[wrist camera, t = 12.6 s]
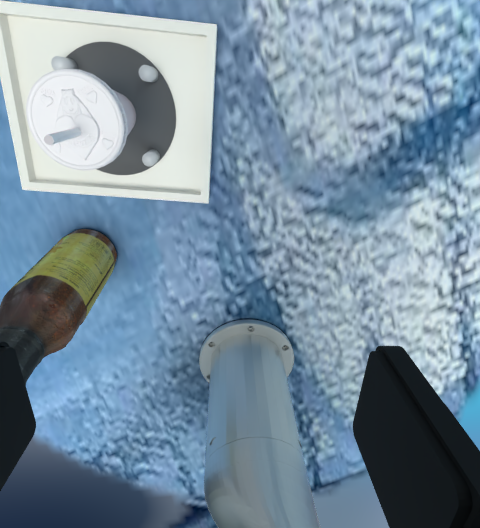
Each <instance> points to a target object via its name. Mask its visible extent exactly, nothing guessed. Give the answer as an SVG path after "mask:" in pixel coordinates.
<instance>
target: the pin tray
mask: <svg viewBox="0 0 480 528" xmlns="http://www.w3.org/2000/svg"><path fill="white" fill-rule="evenodd" d="M216 48H217V24H209V23H200V22H191V21H181V20H172V19H163V18H154V17H145V16H136V15H127V14H118V13H109V12H100V11H91V10H82V9H73V8H63V7H54V6H45V5H36V4H27V3H18V2H9V1H0V77H1V83H2V88H3V93H4V98H5V103H6V108H7V113H8V118H9V123H10V129H11V134H12V139H13V144H14V149H15V154H16V159H17V164H18V169H19V175H20V180H21V185H22V190H33V191H46V192H60V193H73V194H87V195H100V196H114V197H128V198H141V199H155V200H168V201H182V202H195V203H209V195H210V174H211V153H212V132H213V111H214V90H215V69H216ZM60 69H80V70H83V71H85V72H88V73H91V74H93V75H95V76H96V77H98V78H99V79H101V80H102V81H104V82H105V83H106V84H107V85H108V86H109V87H110V88H111V89H112V90H114V91H116V92H118V93H120V94H122V95H124V96H125V97H127V98H128V99H129V100H130V101H131V103H132V104H133V106H134V109H135V112H136V122H135V125H134V127H133V129H132V130H131V132H130V133H129V134H128V136H127V139H126V144H125V146H124V148H123V150H122V152H121V153H120V155H119V156H118V157H117V158H116V159H115V160H114V161H113V162H111V163H109V164H107V165H106V166H104V167H101V168H98V169H94V170H86V171H83V170H75V169H71V168H68V167H66V166H63V165H61V164H59V163H58V162H56V161H54V160H53V159H52V158H50V157H49V156H48V155H47V154H46V153H45V152H44V151H43V150H42V149H41V148H40V146H39V145H38V144H37V142H36V141H35V139H34V137H33V135H32V133H31V131H30V128H29V125H28V121H27V115H26V104H27V98H28V95H29V92H30V90H31V88H32V86H33V85H34V84H35V82H36V81H37V80H38V79H39V78H40V77H42V76H43V75H45V74H47V73H49V72H51V71H55V70H60Z"/></svg>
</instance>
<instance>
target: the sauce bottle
mask: <svg viewBox="0 0 480 528" xmlns="http://www.w3.org/2000/svg"><path fill="white" fill-rule="evenodd" d="M116 258H117V253H116V250H115V247H114V245H113V244H112V243H111V242H110V240H109V239H108V238H107V237H106V236H105V235H103V234H101V233H100V232H97V231H95V230H90V229H79V230H76V231H74V232H72V233H70V234H68V235H67V236H65V237H63V238H62V239H61V240H60V241H59V242H58V243H57V244H56V245H55V246H54V247H53V248H52V249H51V250H50V251H49V252H48V253H47V254H46V255H45V256H44V257H43V258H41V260H39V261H38V263H37V264H36V265H35V266H33V267H32V268H31V269H30V270H29V271H28V272H27V273H26V275H25V276H24V277H23V278H21V279H20V280H19V281H18V282H17V283H16V284H15V285H14V286H13V287H12V288H11V289H10V290H9V291H8V292H7V294H6V295H5V296H4V298H3V300H2V302H1V305H0V341H3V342H6V343H8V344H9V346H10V347H12V348H14V349H15V351H16V354H17V358H18V361H19V365H20V369H21V372H22V376H23V379H24V383H25V386H26V382H27V379H28V378H29V377H30V375H31V374H32V372H33V370H34V369H35V367H37V365H38V364H39V363H40V362H41V360H42V359H43V358H44V357H45V356H47V355H49V354H51V353H54V352H56V351H59V350H61V349H63V348H64V347H66V345H67V344H68V342H69V341H71V339H72V338H73V336H74V334H75V332H76V331H77V329H78V327H79V326H80V325H81V324H82V323H83V321H84V320H85V318H86V316H87V315H88V313H89V311H90V310H91V308H92V306H93V304H94V303H95V301H96V299H97V297H98V296H99V294H100V292H101V291H102V289H103V287H104V285H105V284H106V282H107V280H108V279H109V277H110V275H111V273H112V272H113V269H114V266H115V262H116Z"/></svg>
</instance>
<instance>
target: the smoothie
mask: <svg viewBox="0 0 480 528" xmlns="http://www.w3.org/2000/svg"><path fill="white" fill-rule="evenodd" d="M26 115H27V121H28V125H29V128H30V131H31V133H32V135H33V137H34V139H35V141H36V142H37V144H38V145H39V146H40V148H41V149H42V150H43V151H44V152H45V153H46V154H47V155H48V156H49V157H50V158H52V159H53V160H54V161H56V162H58V163H59V164H61V165H63V166H66V167H68V168H71V169H75V170H83V171H86V170H94V169H98V168H101V167H104V166H106V165H107V164H109V163H111V162H113V161H114V160H115V159H116V158H117V157H118V156H119V155H120V153H121V152H122V150H123V148H124V146H125V144H126V139H127V136H128V134H129V133H130V132H131V130H132V129H133V127H134V125H135V122H136V112H135V109H134V106H133V104H132V103H131V101H130V100H129V99H128V98H127V97H125V96H124V95H122V94H120V93H118V92H116V91H114V90H112V89H111V88H110V87H109V86H108V85H107V84H106V83H105V82H104V81H102V80H101V79H99V78H98V77H96V76H95V75H93V74H91V73H88V72H85V71H83V70H80V69H60V70H55V71H51V72H49V73H47V74H45V75H43V76H42V77H40V78H39V79H38V80H37V81H36V82H35V84H34V85H33V86H32V88H31V90H30V92H29V95H28V98H27V104H26Z"/></svg>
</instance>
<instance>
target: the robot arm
mask: <svg viewBox="0 0 480 528" xmlns="http://www.w3.org/2000/svg"><path fill="white" fill-rule="evenodd" d="M199 365H200V370H201V373H202V375H203V377H204V378H205V379H206V381H207V382H208V383H209V384H210V385H209V402H208V419H207V436H206V453H205V471H204V493H205V499H206V502H207V506H208V509H209V511H210V513H211V515H212V517H213V519H214V521H215V523H216V524H217V526H218V527H219V528H320V524H319V521H318V517H317V513H316V509H315V505H314V501H313V497H312V492H311V488H310V484H309V479H308V475H307V470H306V465H305V461H304V456H303V452H302V447H301V442H300V438H299V433H298V428H297V424H296V419H295V414H294V409H293V405H292V400H291V395H290V391H289V386H288V381H287V377H288V376H289V374H290V373H291V371H292V368H293V365H294V353H293V348H292V345H291V342H290V341H289V339H288V337H287V336H286V335H285V334H284V333H283V332H282V331H281V330H280V329H278V328H277V327H275V326H274V325H271V324H269V323H267V322H263V321H259V320H250V319H248V320H238V321H233V322H229V323H227V324H225V325H222V326H220V327H219V328H217V329H216V330H214V331H213V332H212V333H211V334H210V335H209V336H208V337H207V338H206V340H205V341H204V342H203V345H202V347H201V350H200V356H199ZM35 428H36V421H35V418H34V414H33V411H32V407H31V404H30V400H29V397H28V393H27V390H26V386H25V383H24V379H23V376H22V372H21V369H20V365H19V361H18V358H17V354H16V351H15V349H14V348H12V347H10V346H9V344H8V343H6V342H3V341H0V491H1V489H2V487H3V486H4V484H5V482H6V481H7V479H8V477H9V476H10V474H11V472H12V471H13V469H14V467H15V466H16V464H17V462H18V461H19V459H20V457H21V456H22V454H23V452H24V451H25V449H26V447H27V445H28V444H29V442H30V441H31V439H32V437H33V435H34V432H35ZM353 432H354V436H355V439H356V442H357V444H358V447H359V450H360V452H361V455H362V457H363V460H364V463H365V465H366V468H367V470H368V473H369V476H370V478H371V481H372V483H373V486H374V489H375V491H376V494H377V496H378V499H379V502H380V504H381V507H382V509H383V512H384V514H385V516H386V519H387V522H388V525H389V527H390V528H480V451H479V450H478V448H477V447H476V445H475V444H474V443H473V441H472V440H471V439H470V437H469V436H468V435H467V433H466V432H465V431H464V429H463V428H462V426H461V425H460V424H459V422H458V421H457V420H456V418H455V417H454V415H453V414H452V413H451V411H450V410H449V409H448V407H447V406H446V405H445V404H444V403H443V402H442V400H441V399H440V397H439V396H438V395H437V393H436V392H435V391H434V389H433V388H432V387H431V385H430V384H429V382H428V381H427V380H426V378H425V377H424V376H423V374H422V373H421V372H420V370H419V369H418V367H417V366H416V365H415V363H414V362H413V361H412V359H411V358H410V357H409V355H408V354H407V352H406V351H405V350H404V349H403V348H402V347H400V346H378V347H377V348H376V351H372V352H371V353H370V355H369V358H368V362H367V367H366V371H365V375H364V379H363V383H362V388H361V392H360V396H359V400H358V404H357V409H356V413H355V417H354V421H353Z"/></svg>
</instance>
